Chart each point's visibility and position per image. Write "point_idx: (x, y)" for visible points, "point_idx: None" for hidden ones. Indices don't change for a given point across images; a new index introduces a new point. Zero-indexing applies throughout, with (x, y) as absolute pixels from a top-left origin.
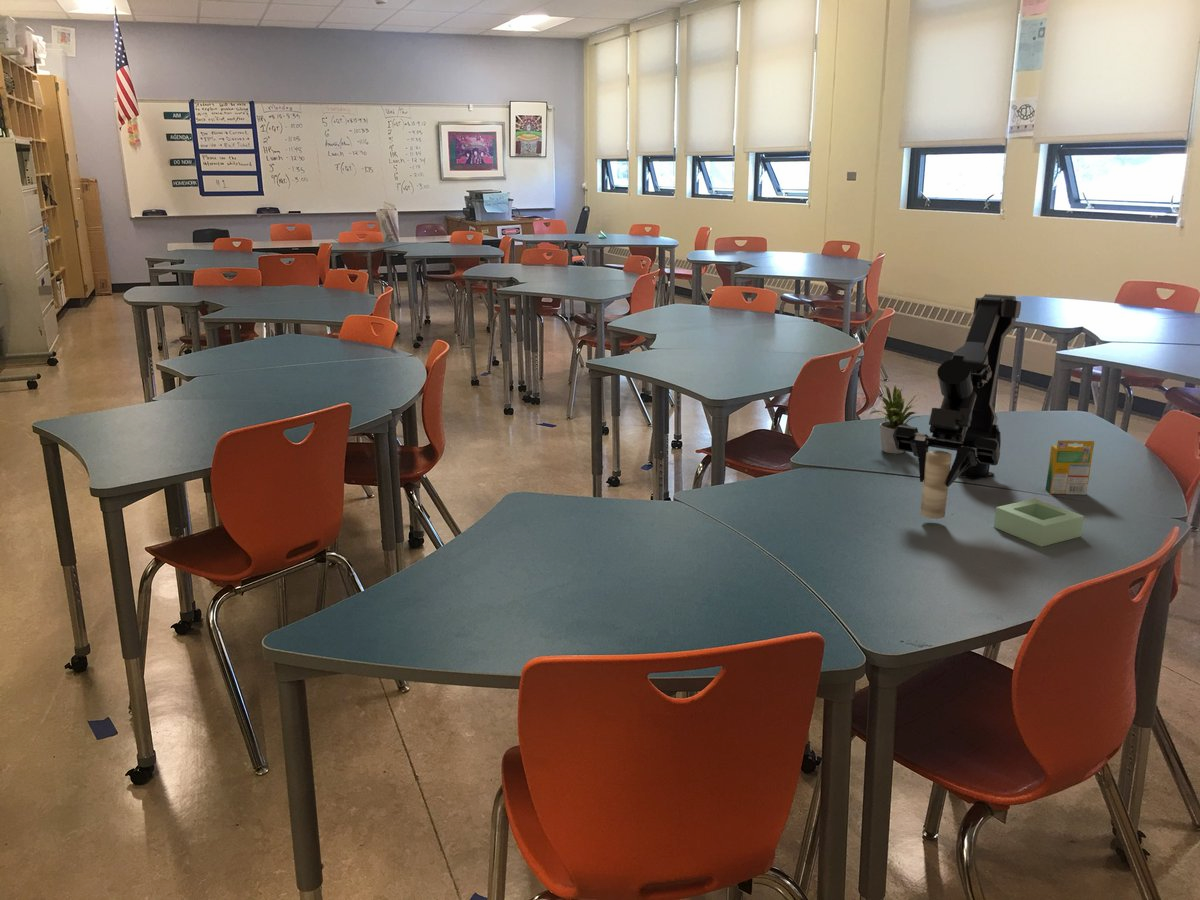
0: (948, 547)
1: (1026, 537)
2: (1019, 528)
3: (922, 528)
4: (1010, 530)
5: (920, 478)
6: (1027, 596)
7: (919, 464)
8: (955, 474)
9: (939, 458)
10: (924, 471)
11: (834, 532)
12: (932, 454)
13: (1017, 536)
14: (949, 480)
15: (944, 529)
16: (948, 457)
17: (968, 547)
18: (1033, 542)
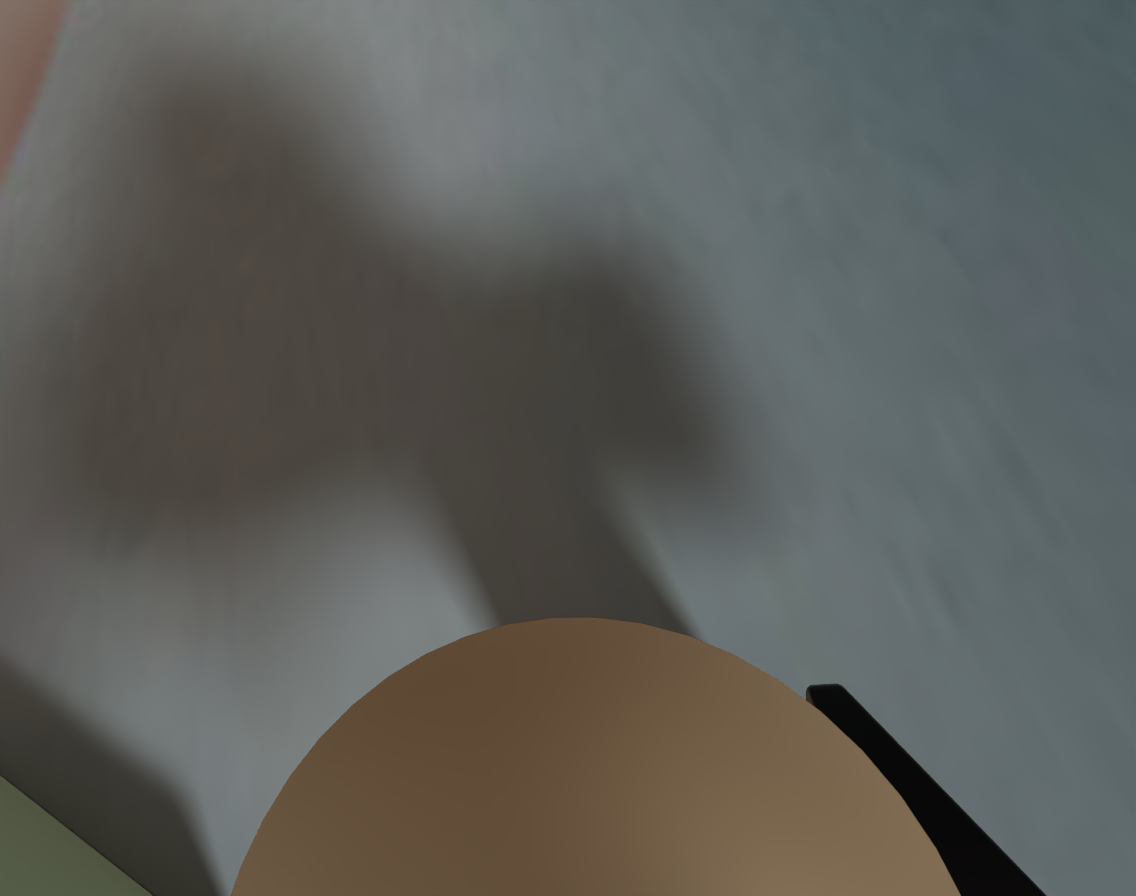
0: (441, 393)
1: (29, 816)
2: (34, 862)
3: (681, 602)
4: (122, 893)
5: (834, 686)
6: (64, 127)
7: (1019, 879)
8: None
9: (464, 643)
10: None
11: (1119, 163)
12: (725, 835)
13: (95, 853)
14: None
15: None
16: (259, 831)
17: (344, 466)
18: (5, 784)
